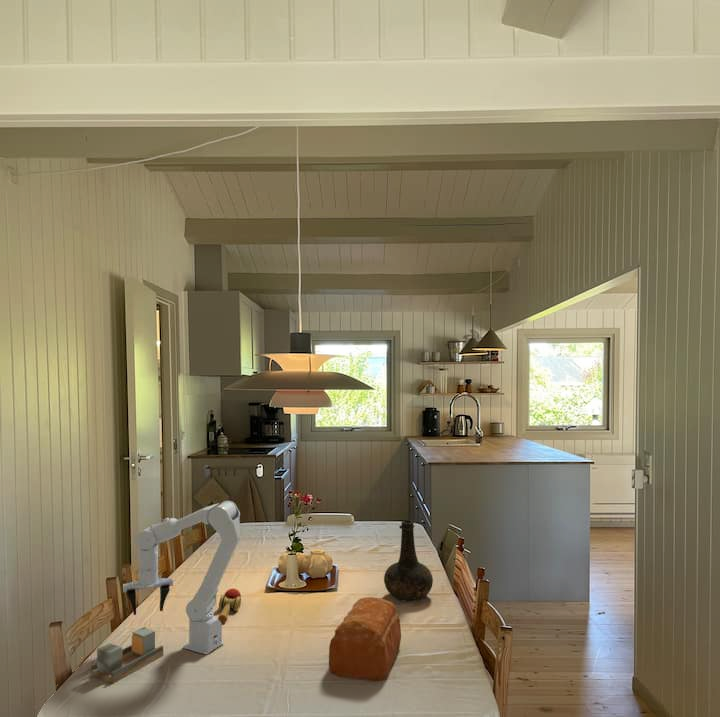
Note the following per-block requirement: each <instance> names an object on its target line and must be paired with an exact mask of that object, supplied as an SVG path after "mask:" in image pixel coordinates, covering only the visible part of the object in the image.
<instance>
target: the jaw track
mask: <svg viewBox="0 0 720 717" xmlns="http://www.w3.org/2000/svg"><path fill="white" fill-rule="evenodd" d="M96 649H97V650H96V660H97V661H96V662H95V663H94V664H91V665H90V670H89V671H90V676H91V677H94V678H97V679H100V680H102V681H105V682H108V683H111V684H115V683H117V682H118V681H119V682H120V680H122V679H124V678H126V677H128V676H130V675H132V674H133V673H134V672H136V671H138V670H140V669H142V668H144V667H146V666H147V665H149V664H151V663H153V662H154V661H156V660H158V659H159V658H162V657H163V656H164V646H163V645H160V646H158V647H155V649H154V650H152V651H150V652H148V653H147V654H145V655H143V656H139V655H137V654H135V653H132V644H131V645H129V646H127V647H125V648H123V647H122V646H120V645H116V644H113V643H109V642H108V643H107V644H105V645H103V646H101V647H99V648H96Z"/></svg>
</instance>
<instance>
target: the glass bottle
mask: <svg viewBox="0 0 720 717" xmlns="http://www.w3.org/2000/svg"><path fill="white" fill-rule="evenodd" d="M414 528H415V525H414V521H412V520H409V519H408V520H402V521H401V525H399V529H401V536H400V537H401V539H400V550H399V551H400V552H399V558H398V561H397V562H395V563H392V564H391V565H390V566H389V567H388V568H386V571H385V573H384V575H383V584H384V586H385V589H386V590H387V592H388V594H390V595H391V596H392V597H393V598H394V599H397V600H399V601H402V602H417V601H420V600H422V599H424V598H425V597H427V596H428V594H429V593H430V591H431V590H432V587H433V583H434V580H433V574H432V572H431V571H430V569H429V568H428V567H427V565H425V564H423V563H421V562H419V560H418V556H417V552H416V547H415V546H416V545H415V535H414Z"/></svg>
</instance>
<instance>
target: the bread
mask: <svg viewBox="0 0 720 717" xmlns="http://www.w3.org/2000/svg"><path fill="white" fill-rule="evenodd" d="M401 629H402V628H401V621H400V615H398V614H397V607H396V606H395V604H394V603H393V602H391V601H389V600H386V599H384V598H380V597H372V596H368V597H361V598H359V599H358V600H357V601H356V602H355V603H354V604H353V605H352V608H351V610H350V611H348V612H347V615H345V617H344V618H343V621H342V622H340V624H339V625H338V626H337V627H336V629H335V631H334V635H333V637H332V638H331V640H330V642H329V647H328V670H329V671H330V674H333V675H335V676H338V677H343V678H349V679H354V680H362V681H372V682H373V681H382V680H383V679H384V678H386V677H387V676H388V674H389V672H390V669H391V667H392V665H393V663H394V661H395V658H396V656H397V653H398V652H399V650H400V646H401V641H402V630H401Z"/></svg>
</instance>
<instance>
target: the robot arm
mask: <svg viewBox="0 0 720 717" xmlns="http://www.w3.org/2000/svg"><path fill="white" fill-rule="evenodd" d="M240 516H241V512H240V509H239V508H238V506H237V504H236V503H235V502H233V501H231V500H224V501H222V502H221V503H220V502H219V503H214V504H211V505H209V506H205V507H203V508H200V509H199V510H196V511H195V512H192V513H190V514H188V515H186V516H184V517H182V518H181V517H180V518H179V519H177V518H174V517H170V518H169V517H166V518H164V519H163V521H162V522H161V521H160V522H159V523H157V524H155V523H153V524H151V525H150V526H149V527H147V528H145V529H143V530H141V531H140V532H138V533H137V534H136V535H135V539H134V542H135V545H136V547H137V548H138V578H137V579H138V580H136V581H131V582H129V583H123V584H122V593H126V596H127V598H128V600H129V602H130V605H131V608H132V610H133V616H136V615H137V594H136V593H137V592H136V591H139V590H145V589H146V590H147V589H153V588H159V590H160V591H159V592H160V593H159V595H160V596H159V611H160V612H163V610H164V606H165V601H166V599H167V597H168V594H169V593H170V590H171V589H170V587H173V586H174V579H173V577H169V578H168V577H166V578H164V577H162V578H161V577H160V578H159V544H162V543H163V542H167V541H169V540H172V539H173V538H175V537H178V536H179V535H181V531H182V530H184V529H187V528H190V527H193V526H195V525H198V524H199V523H203V524H205V525H206V526H207V525H210V526H211V527H212V528H213V529H214V530H215V531H216V532H217V533H218V534H219V536H220V538H221V540H220V542H219V544H218V547H217V549H216V552H215V554H214V556H213V558H212V560H211V562H210V564H209V566H208V569H207V571H206V574H205V575H204V578H203V580H202V582H201V584H200V586H199V588H198V589H197V591H196V592H195V594H194V596H193V598H192V599H191V600H190V601H189V602H188V603H187V604H186V606H185V613H186V615H187V617H188V642H187V643H186V644H184V645H182V648H183V649H186V650H189V651H192V652H196V653H199V654H202V653H203V655H208V654H210V653H212V652H213V651H214V649H215V650H217V649H218V648H220V647H222V646H223V645H224V642H223V639H222V637H223V636H222V634H223V633H222V631H223V627H222V626H223V625H222V624H223V623H221V622H220V621H219V620H218V618H216V616H215V615H214V610H213V609H214V607H215V606H216V604H217V594H218V593H219V589H218V588H219V585H220V583H221V581H222V579H223V578H224V575H225V573H226V571H227V568H228V566H229V563H230V562H231V559H232V557H233V555H234V553H235V550H236V549H237V546H238V544H239V541H240V539H241V537H242V536H241V523H240V522H241V520H240ZM222 644H223V645H222ZM219 646H220V647H219ZM217 647H218V648H217Z"/></svg>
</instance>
